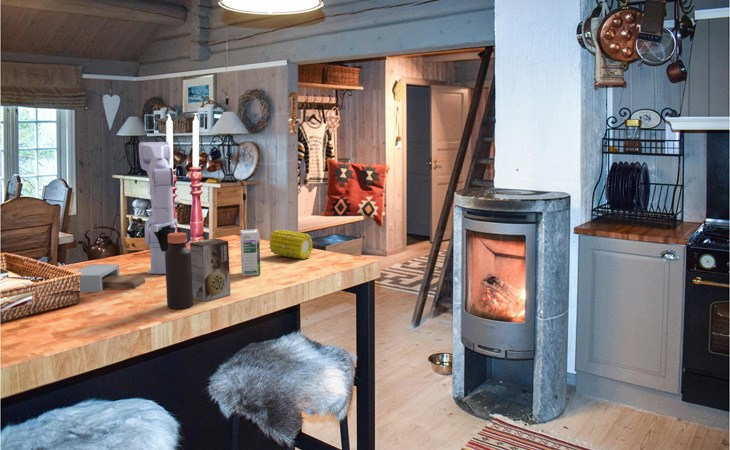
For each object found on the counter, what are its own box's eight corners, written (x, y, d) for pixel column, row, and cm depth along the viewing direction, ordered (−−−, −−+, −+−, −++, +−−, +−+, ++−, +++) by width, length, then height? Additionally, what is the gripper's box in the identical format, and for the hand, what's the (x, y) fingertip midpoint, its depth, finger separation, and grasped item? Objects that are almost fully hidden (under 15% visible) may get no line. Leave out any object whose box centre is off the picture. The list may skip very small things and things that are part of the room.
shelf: (119, 279, 206) (118, 264, 205) (100, 292, 191) (99, 275, 190) (91, 279, 206) (90, 264, 205) (70, 291, 191) (68, 275, 191)
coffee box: (217, 291, 192) (215, 237, 190) (231, 295, 188) (229, 240, 186) (191, 297, 185) (189, 242, 183) (205, 301, 181) (203, 245, 179)
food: (317, 257, 240) (317, 230, 238) (295, 263, 231) (294, 235, 229) (288, 252, 249) (287, 226, 248) (265, 257, 240) (264, 230, 238)
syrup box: (242, 276, 211) (241, 232, 209) (241, 272, 217) (240, 229, 214) (260, 275, 212) (259, 231, 210) (258, 271, 218) (257, 228, 216)
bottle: (162, 306, 177) (158, 234, 173) (183, 301, 182) (179, 230, 179) (177, 311, 172) (174, 237, 169) (198, 305, 178) (195, 233, 175)
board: (144, 283, 203) (144, 276, 202) (134, 290, 195) (133, 282, 195) (95, 282, 204) (94, 275, 204) (82, 289, 196) (81, 281, 196)
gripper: (161, 204, 207) (163, 246, 209) (139, 210, 193) (142, 255, 195) (182, 204, 206) (184, 246, 208) (162, 211, 192) (164, 256, 194)
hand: (165, 251), depth 201 cm, fingers closed
